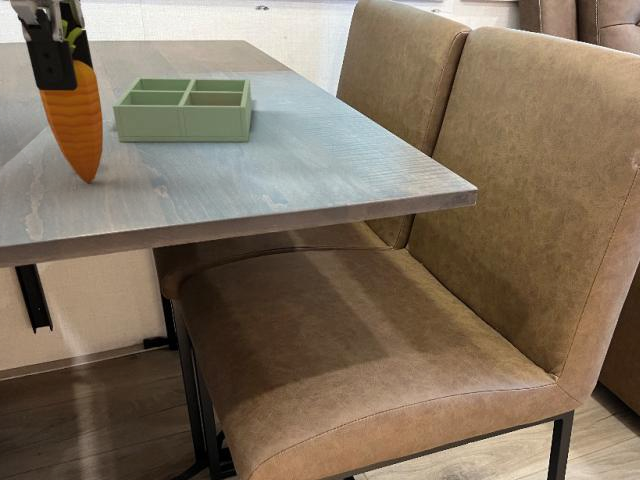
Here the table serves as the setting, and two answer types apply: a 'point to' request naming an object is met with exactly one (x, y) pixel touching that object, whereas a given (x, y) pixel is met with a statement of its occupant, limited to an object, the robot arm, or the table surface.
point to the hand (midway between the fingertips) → (66, 79)
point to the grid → (184, 110)
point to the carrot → (77, 117)
